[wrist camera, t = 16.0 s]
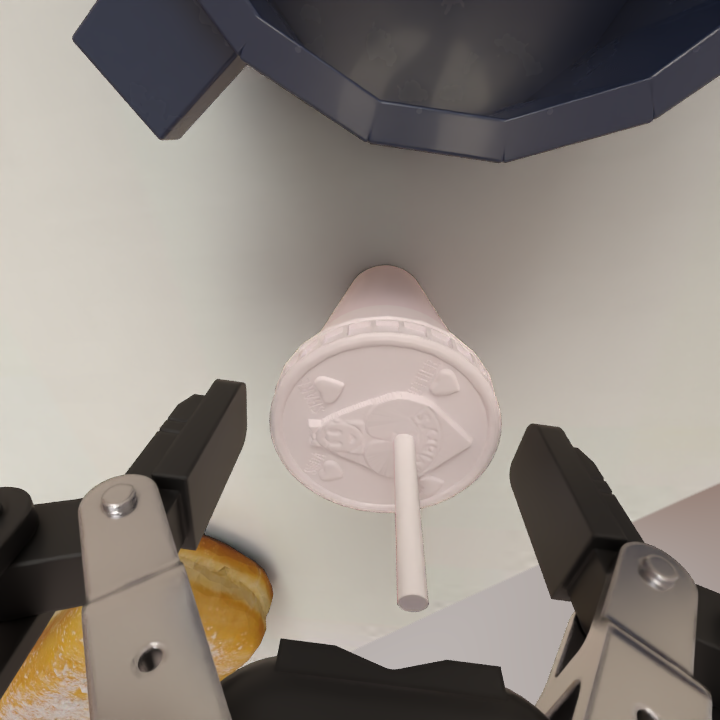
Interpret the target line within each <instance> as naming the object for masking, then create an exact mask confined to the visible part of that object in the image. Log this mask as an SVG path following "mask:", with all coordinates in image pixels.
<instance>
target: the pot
mask: <svg viewBox="0 0 720 720" xmlns="http://www.w3.org/2000/svg"><path fill="white" fill-rule="evenodd" d="M72 40H73V42H74V43H75V44H76V45H77V46H78V47H79V48H80V50H81V51H82V52H83V53H84V54H85V55H86V56H87V58H88V59H89V60H90V61H91V62H92V63H93V64H94V66H95V67H96V68H97V69H98V70H99V71H100V72H101V74H102V75H103V76H104V77H105V78H106V79H107V80H108V82H109V83H110V84H111V85H112V86H113V87H114V88H115V89H116V91H117V92H118V93H119V94H120V95H121V96H122V97H123V99H124V100H125V101H126V102H127V103H128V104H129V105H130V107H131V108H132V109H133V110H134V111H135V112H136V113H137V115H138V116H139V117H140V118H141V119H142V120H143V121H144V123H145V124H146V125H147V126H148V127H149V128H150V129H151V131H152V132H153V133H154V134H155V135H156V136H157V137H158V139H160V140H177V139H180V138H181V137H182V136H183V135H184V134H185V132H186V131H187V130H188V129H189V128H190V127H191V126H192V125H193V124H194V123H195V121H196V120H197V119H198V118H199V117H200V116H201V115H202V114H203V113H204V112H205V110H206V109H207V108H208V107H209V106H210V105H211V104H212V103H213V102H214V101H215V99H216V98H217V97H218V96H219V95H220V94H221V93H222V92H223V91H224V90H225V88H226V87H227V86H228V85H229V84H230V83H231V82H232V81H233V80H234V79H235V77H236V76H237V75H238V74H239V73H240V72H241V71H242V70H243V69H244V68H245V66H246V65H249V66H250V67H252V68H253V69H255V70H256V71H258V72H260V73H261V74H263V75H264V76H266V77H267V78H269V79H270V80H272V81H273V82H275V83H276V84H278V85H279V86H281V87H282V88H284V89H285V90H287V91H288V92H290V93H291V94H293V95H294V96H296V97H297V98H299V99H300V100H302V101H303V102H305V103H306V104H308V105H309V106H311V107H313V108H314V109H316V110H317V111H319V112H320V113H322V114H323V115H325V116H326V117H328V118H329V119H331V120H332V121H334V122H335V123H337V124H338V125H340V126H341V127H343V128H344V129H346V130H347V131H349V132H350V133H352V134H353V135H355V136H356V137H358V138H359V139H361V140H363V141H364V142H369V143H370V144H375V145H381V146H388V147H395V148H401V149H408V150H415V151H421V152H428V153H435V154H441V155H448V156H455V157H461V158H468V159H475V160H481V161H488V162H495V163H501V162H503V163H507V162H511V161H514V160H518V159H521V158H525V157H529V156H532V155H536V154H539V153H543V152H547V151H550V150H554V149H557V148H561V147H565V146H568V145H572V144H575V143H579V142H583V141H586V140H590V139H593V138H597V137H601V136H604V135H608V134H611V133H615V132H618V131H622V130H626V129H629V128H633V127H636V126H640V125H644V124H647V123H650V122H651V121H652V120H653V119H657V118H658V117H660V116H661V115H663V114H664V113H665V112H667V111H668V110H670V109H671V108H673V107H674V106H676V105H677V104H679V103H680V102H682V101H683V100H685V99H686V98H687V97H689V96H690V95H692V94H693V93H695V92H696V91H698V90H699V89H701V88H702V87H704V86H705V85H707V84H708V83H709V82H711V81H712V80H714V79H715V78H717V77H718V76H720V0H97V1H96V3H95V4H94V6H93V7H92V9H91V10H90V12H89V13H88V15H87V16H86V17H85V19H84V20H83V22H82V23H81V25H80V26H79V28H78V29H77V30H76V32H75V33H74V35H73V36H72Z"/></svg>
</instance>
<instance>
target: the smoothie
mask: <svg viewBox="0 0 720 720" xmlns="http://www.w3.org/2000/svg"><path fill="white" fill-rule="evenodd" d="M269 421H270V432H271V437H272V441H273V444H274V447H275V449H276V452H277V454H278V456H279V457H280V459H281V461H282V462H283V464H284V465H285V467H286V468H287V469H288V470H289V472H290V473H291V474H292V475H293V476H294V477H295V478H296V479H297V480H298V481H299V482H300V483H302V484H303V485H304V486H306V487H307V488H308V489H310V490H311V491H313V492H314V493H316V494H318V495H319V496H321V497H323V498H325V499H327V500H329V501H332V502H334V503H337V504H339V505H341V506H345V507H349V508H353V509H357V510H361V511H369V512H377V513H395V527H396V572H397V605H398V606H399V607H400V608H401V609H403V610H405V611H408V612H418V611H422V610H424V609H426V608H427V607H428V605H429V602H428V590H427V579H426V568H425V557H424V545H423V534H422V523H421V511H420V509H422V508H426V507H429V506H433V505H436V504H438V503H441V502H443V501H445V500H447V499H449V498H452V497H454V496H455V495H457V494H458V493H460V492H462V491H463V490H464V489H466V488H467V487H469V486H470V485H471V484H472V483H473V482H474V481H475V480H477V479H478V477H479V476H480V475H481V474H482V473H483V472H484V471H485V469H486V468H487V467H488V465H489V464H490V462H491V460H492V459H493V457H494V455H495V452H496V450H497V447H498V444H499V441H500V436H501V425H502V422H501V412H500V407H499V403H498V401H497V398H496V395H495V392H494V388H493V384H492V381H491V377H490V374H489V373H488V371H487V370H486V368H485V367H484V365H483V364H482V362H481V361H480V359H479V358H478V356H477V355H476V353H475V352H474V351H473V350H472V349H470V348H469V347H468V346H467V345H465V344H464V343H463V342H462V341H460V340H459V339H458V338H457V337H455V336H454V335H453V334H452V333H450V332H449V330H448V329H447V327H446V326H445V324H444V322H443V321H442V319H441V318H440V316H439V315H438V313H437V312H436V310H435V308H434V307H433V305H432V304H431V302H430V301H429V299H428V297H427V296H426V294H425V293H424V291H423V290H422V288H421V286H420V285H419V283H418V282H417V280H416V279H415V278H414V277H413V276H412V275H411V274H410V273H408V272H407V271H405V270H403V269H401V268H399V267H395V266H390V265H381V266H375V267H372V268H369V269H367V270H365V271H364V272H362V273H361V274H360V275H358V276H357V277H356V278H355V280H354V281H353V282H352V284H351V285H350V287H349V289H348V290H347V292H346V293H345V295H344V296H343V298H342V299H341V301H340V302H339V304H338V305H337V307H336V308H335V310H334V311H333V313H332V315H331V316H330V318H329V319H328V321H327V322H326V324H325V325H324V327H323V328H322V330H321V331H320V332H319V333H318V334H316V335H315V336H313V337H312V338H310V339H309V340H307V341H306V342H304V343H303V344H302V345H301V346H300V347H299V348H298V349H297V351H296V352H295V353H294V354H293V355H292V357H291V358H290V359H289V360H288V361H287V363H286V364H285V365H284V367H283V370H282V373H281V375H280V378H279V380H278V383H277V385H276V388H275V395H274V398H273V401H272V404H271V409H270V420H269Z"/></svg>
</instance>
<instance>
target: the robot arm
mask: <svg viewBox="0 0 720 720" xmlns="http://www.w3.org/2000/svg"><path fill="white" fill-rule="evenodd" d="M246 431H247V399H246V385H245V383H243V382H236V381H229V380H221V379H217V380H215V382H214V383H213V384H212V386H211V387H210V389H209V390H208V392H207V393H206V395H205V396H204V395H197V394H194V395H192V396H191V397H189V398H188V399H186V400H184V401H183V402H181V403H180V404H178V405H177V407H176V408H175V409H174V411H173V412H172V413H171V415H170V416H169V417H168V420H166V421H165V422H164V424H163V425H162V426H161V428H160V431H159V432H157V433H156V434H155V436H154V437H153V438H152V440H151V441H150V442H149V443H148V445H147V446H146V447H145V449H144V450H143V451H142V453H141V454H140V455H139V457H138V458H137V459H136V461H135V462H134V463H133V464H132V466H131V467H130V468H129V470H128V471H127V472H126V474H125V475H120V476H116V477H113V478H110V479H108V480H106V481H104V482H102V483H100V484H98V485H97V486H95V487H94V488H93V489H91V490H90V491H89V492H88V493H87V494H86V495H85V496H84V498H81V499H75V500H68V501H60V502H52V503H44V504H36V505H34V504H33V502H32V500H31V497H30V495H29V494H28V493H27V492H26V491H24V490H22V489H19V488H14V487H0V700H1V698H2V696H3V695H4V693H5V692H6V690H7V688H8V687H9V685H10V684H11V682H12V680H13V679H14V677H15V676H16V674H17V672H18V671H19V669H20V668H21V666H22V664H23V663H24V661H25V660H26V658H27V656H28V655H29V653H30V652H31V650H32V648H33V647H34V645H35V644H36V642H37V640H38V639H39V637H40V636H41V634H42V632H43V631H44V629H45V628H46V626H47V624H48V623H49V621H50V620H51V618H52V616H53V615H54V613H55V612H56V611H59V610H64V609H69V608H74V607H79V606H82V612H81V616H82V631H83V643H84V655H85V666H86V678H87V690H88V701H89V713H90V720H720V594H719V593H717V592H714V591H712V590H709V589H707V588H704V587H702V586H699V585H697V584H695V583H694V581H693V579H692V578H691V576H690V575H689V573H688V572H687V571H686V570H685V569H684V568H683V567H682V566H681V565H680V564H679V563H678V562H677V561H676V560H675V559H673V558H672V557H671V556H670V555H668V554H667V553H665V552H664V551H662V550H660V549H658V548H656V547H654V546H652V545H649V544H646V543H644V541H643V540H642V538H641V537H640V535H639V533H638V532H637V530H636V529H635V527H634V525H633V524H632V522H631V521H630V519H629V517H628V516H627V514H626V513H625V511H624V510H623V508H622V506H621V505H620V503H619V502H618V500H617V498H616V497H615V495H612V491H611V489H610V487H609V486H608V484H607V483H606V481H604V480H603V479H604V478H603V476H602V475H601V473H600V472H599V470H598V468H597V467H596V465H595V464H594V462H593V461H592V460H590V459H589V458H588V457H587V456H586V455H585V454H584V453H583V452H582V451H581V450H579V449H578V448H574V447H573V446H572V445H571V443H570V441H569V439H568V438H567V436H566V434H565V433H564V431H563V430H562V429H561V428H560V427H554V426H547V425H540V424H530V425H529V426H528V427H527V429H526V431H525V433H524V436H523V438H522V440H521V442H520V445H519V447H518V449H517V452H516V454H515V456H514V458H513V461H512V463H511V467H510V483H511V487H512V490H513V492H514V495H515V498H516V501H517V504H518V507H519V509H520V512H521V515H522V518H523V521H524V523H525V526H526V529H527V532H528V535H529V537H530V540H531V543H532V546H533V549H534V551H535V554H536V557H537V560H538V563H539V565H540V568H541V571H542V573H543V577H544V579H545V582H546V585H547V588H548V591H549V593H550V596H551V599H556V600H564V601H571V602H572V605H573V607H574V610H575V612H574V613H573V614H572V616H571V617H570V619H569V622H568V625H567V627H566V630H565V633H564V636H563V639H562V642H561V644H560V647H559V650H558V653H557V655H556V658H555V661H554V664H553V667H552V669H551V672H550V675H549V678H548V681H547V683H546V685H545V688H544V690H543V692H542V694H541V696H540V698H539V700H538V701H537V703H536V705H535V706H534V705H532V704H531V703H530V702H529V701H527V700H526V699H524V698H523V697H522V696H520V695H518V694H516V693H515V692H513V691H511V690H510V689H508V688H505V686H504V681H503V676H502V672H501V667H498V666H490V665H483V664H475V663H466V662H459V661H452V660H444V661H438V662H433V663H428V664H423V665H417V666H412V667H408V668H402V669H396V670H392V669H387V668H385V667H382V666H380V665H378V664H376V663H373V662H371V661H369V660H366V659H364V658H362V657H360V656H357V655H355V654H353V653H351V652H349V651H346V650H344V649H342V648H340V647H337V646H335V645H327V644H319V643H312V642H304V641H296V640H288V639H281V640H280V644H279V649H278V654H277V656H274V657H269V658H265V659H262V660H259V661H256V662H253V663H250V664H248V665H246V666H244V667H242V668H240V669H238V670H236V671H235V672H233V673H232V674H230V675H228V676H227V677H225V678H224V679H223V680H221V681H220V680H219V676H218V673H217V670H216V667H215V663H214V660H213V657H212V654H211V650H210V647H209V644H208V641H207V637H206V634H205V631H204V627H203V624H202V621H201V618H200V614H199V611H198V608H197V605H196V601H195V598H194V595H193V592H192V588H191V585H190V582H189V579H188V575H187V572H186V569H185V567H184V564H183V562H180V559H179V556H178V553H179V551H180V549H188V550H195V551H196V549H197V547H198V545H199V542H200V540H201V538H202V536H203V534H204V531H205V529H206V527H207V525H208V523H209V520H210V518H211V516H212V514H213V512H214V509H215V507H216V505H217V503H218V501H219V498H220V496H221V494H222V492H223V490H224V487H225V485H226V483H227V481H228V478H229V476H230V474H231V472H232V470H233V467H234V465H235V463H236V461H237V459H238V456H239V454H240V452H241V450H242V447H243V445H244V441H245V437H246Z"/></svg>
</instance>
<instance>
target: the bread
mask: <svg viewBox="0 0 720 720" xmlns="http://www.w3.org/2000/svg"><path fill="white" fill-rule="evenodd" d="M178 556H179V559H180V562H183V564H184V567H185V569H186V572H187V575H188V579H189V582H190V585H191V588H192V592H193V595H194V598H195V601H196V605H197V608H198V611H199V614H200V618H201V621H202V624H203V627H204V631H205V634H206V637H207V641H208V644H209V647H210V650H211V654H212V657H213V660H214V663H215V667H216V670H217V673H218V676H219V680H220V681H221V680H223V679H224V678H225V677H227V676H228V675H230V674H232V673H233V672H235V671H236V669H238V668H239V667H241V666H242V665H243V664H244V663H246V662H247V661H248V660H249V658H250V657H251V656H252V654H253V653H254V652H255V650H256V649H257V648H258V647H259V645H260V643H261V641H262V638H263V636H264V633H265V631H266V616H267V613H268V612H269V609H270V605H271V602H272V598H273V590H272V586H271V583H270V581H269V579H268V577H267V575H266V573H265V571H264V569H263V568H262V567H261V566H259V565H258V564H257V563H256V562H255V561H253V560H251V559H250V558H248V557H246V556H245V555H243V554H242V553H240V552H238V551H237V550H235V549H234V548H232V547H231V546H229V545H227V544H225V543H223V542H221V541H218V540H216V539H214V538H212V537H210V536H206V535H203V536H202V538H201V540H200V542H199V545H198V547H197V549H196V551H195V550H188V549H180V551H179V553H178ZM81 612H82V606H79V607H74V608H69V609H64V610H59V611H56V612H55V613H54V615H53V616H52V618H51V620H50V621H49V623H48V624H47V626H46V628H45V629H44V631H43V632H42V634H41V636H40V637H39V639H38V640H37V642H36V644H35V645H34V647H33V648H32V650H31V652H30V653H29V655H28V656H27V658H26V660H25V661H24V663H23V664H22V666H21V668H20V669H19V671H18V672H17V674H16V676H15V677H14V679H13V680H12V682H11V684H10V685H9V687H8V688H7V690H6V692H5V693H4V695H3V696H2V698H1V700H0V720H90V713H89V701H88V690H87V678H86V666H85V655H84V643H83V631H82V616H81Z"/></svg>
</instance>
